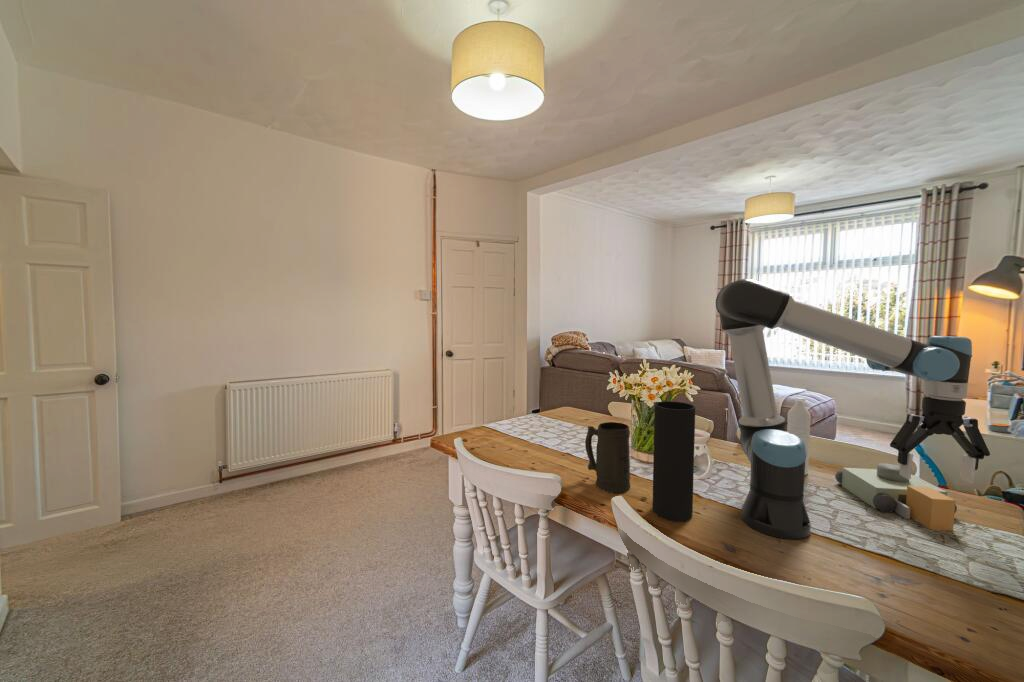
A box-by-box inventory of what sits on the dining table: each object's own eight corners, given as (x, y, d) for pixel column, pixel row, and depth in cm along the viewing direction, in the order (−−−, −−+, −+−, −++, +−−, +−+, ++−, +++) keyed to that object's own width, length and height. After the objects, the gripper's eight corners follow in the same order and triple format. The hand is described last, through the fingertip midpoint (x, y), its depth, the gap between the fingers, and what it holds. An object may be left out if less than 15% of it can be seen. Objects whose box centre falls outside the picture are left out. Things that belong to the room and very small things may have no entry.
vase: (656, 500, 120) (658, 399, 118) (694, 509, 115) (697, 403, 112) (649, 516, 111) (651, 407, 109) (689, 525, 106) (692, 411, 104)
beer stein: (637, 484, 131) (633, 422, 131) (627, 496, 122) (623, 430, 122) (591, 477, 140) (588, 419, 139) (579, 488, 131) (575, 426, 130)
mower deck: (884, 517, 110) (886, 484, 109) (834, 483, 131) (836, 455, 131) (966, 522, 107) (968, 489, 106) (901, 487, 128) (902, 459, 128)
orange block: (930, 529, 104) (932, 498, 103) (905, 514, 111) (907, 485, 111) (952, 531, 103) (955, 500, 102) (926, 515, 111) (928, 486, 110)
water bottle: (807, 476, 136) (810, 403, 135) (784, 472, 140) (787, 400, 139) (809, 469, 143) (812, 398, 141) (787, 464, 147) (790, 396, 145)
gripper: (898, 397, 101) (890, 480, 103) (1018, 403, 97) (1008, 490, 99) (877, 391, 109) (869, 469, 110) (988, 397, 104) (978, 477, 106)
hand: (935, 479), depth 104 cm, fingers open, 13 cm apart
